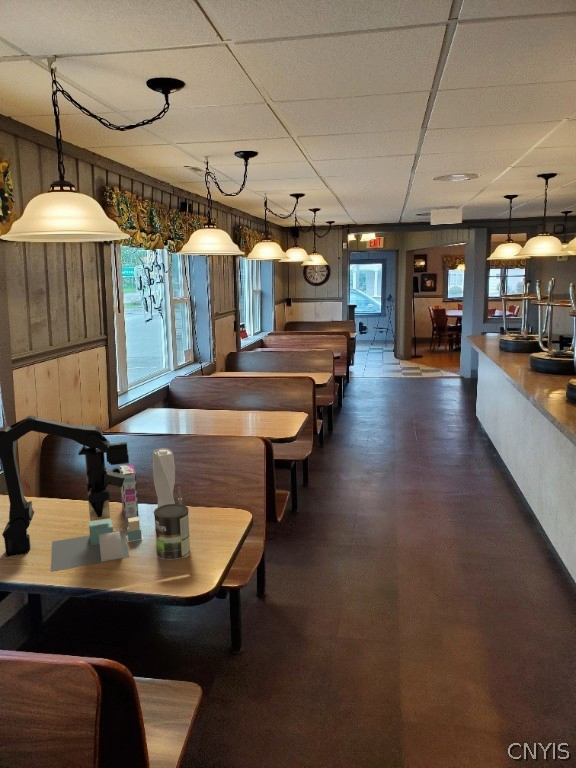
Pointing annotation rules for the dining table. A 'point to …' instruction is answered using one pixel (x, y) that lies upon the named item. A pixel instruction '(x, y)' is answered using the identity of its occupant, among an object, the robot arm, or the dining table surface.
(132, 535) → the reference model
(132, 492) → the candy bar box
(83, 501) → the dining table surface
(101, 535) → the grey cube
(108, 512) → the oak cube
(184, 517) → the coffee can
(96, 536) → the teal block
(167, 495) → the skyscraper
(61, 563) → the charcoal mat
